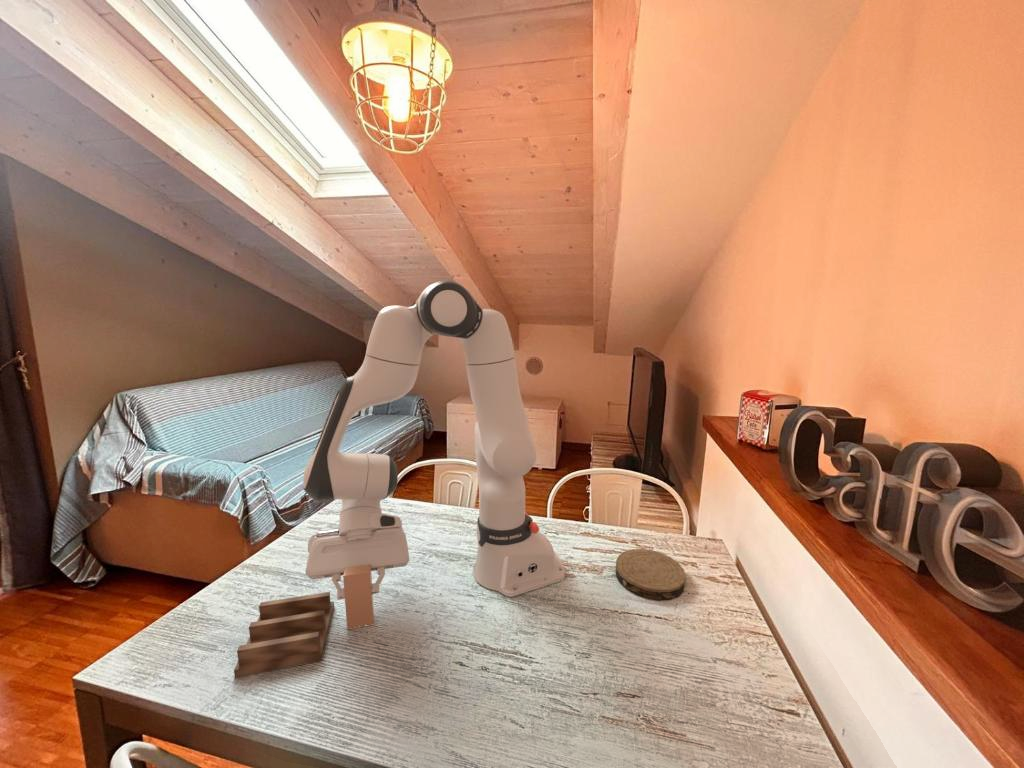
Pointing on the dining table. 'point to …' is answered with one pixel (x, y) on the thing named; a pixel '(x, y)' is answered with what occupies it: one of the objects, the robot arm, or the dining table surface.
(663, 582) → the wood slice
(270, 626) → the rack
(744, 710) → the dining table surface
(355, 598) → the clay slab
